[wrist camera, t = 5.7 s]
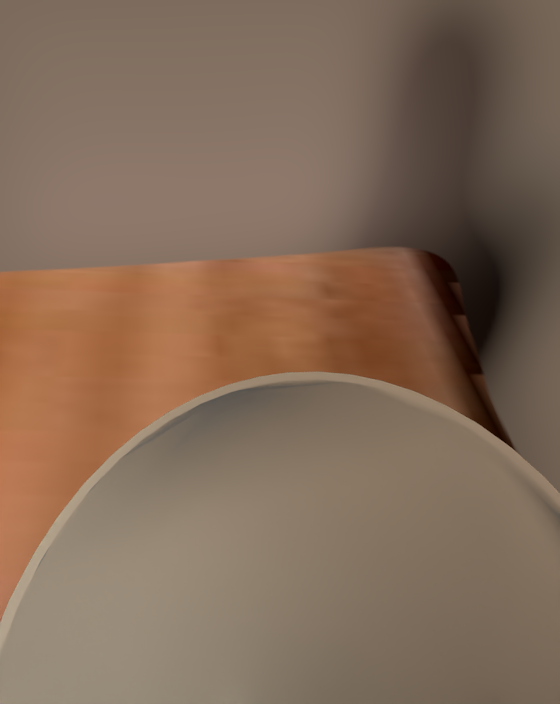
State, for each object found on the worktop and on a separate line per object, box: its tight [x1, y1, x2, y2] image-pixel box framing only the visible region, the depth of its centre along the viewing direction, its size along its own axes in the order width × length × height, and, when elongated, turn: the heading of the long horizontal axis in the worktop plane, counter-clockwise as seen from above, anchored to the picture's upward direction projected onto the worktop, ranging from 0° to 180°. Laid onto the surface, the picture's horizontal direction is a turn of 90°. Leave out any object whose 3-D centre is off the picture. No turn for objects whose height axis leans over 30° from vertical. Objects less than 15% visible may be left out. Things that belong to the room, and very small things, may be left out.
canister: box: [0, 372, 560, 704], centre depth 8 cm, size 5×5×12 cm
